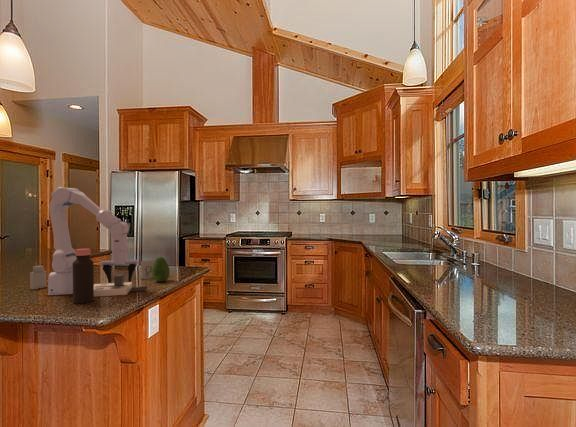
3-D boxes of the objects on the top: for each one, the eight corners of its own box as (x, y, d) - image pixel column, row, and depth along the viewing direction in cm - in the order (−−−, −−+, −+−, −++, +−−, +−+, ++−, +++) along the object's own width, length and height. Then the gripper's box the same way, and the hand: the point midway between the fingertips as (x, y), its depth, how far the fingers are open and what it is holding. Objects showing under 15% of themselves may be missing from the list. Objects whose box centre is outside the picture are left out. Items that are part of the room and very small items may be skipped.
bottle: (74, 300, 126) (74, 248, 126) (95, 298, 129) (94, 247, 129) (71, 305, 120) (70, 250, 120) (92, 302, 123) (91, 249, 122)
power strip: (85, 297, 131) (85, 290, 130) (94, 289, 142) (94, 283, 142) (144, 293, 136) (144, 287, 136) (148, 286, 148) (148, 281, 148)
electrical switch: (141, 279, 162) (141, 260, 163) (140, 278, 167) (140, 260, 168) (161, 278, 166) (161, 259, 167) (160, 277, 171) (160, 259, 172)
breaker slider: (114, 286, 137) (114, 276, 137) (116, 283, 141) (116, 274, 141) (122, 285, 138) (122, 276, 138) (124, 283, 142) (124, 274, 141)
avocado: (157, 279, 162) (157, 255, 162) (172, 280, 161) (172, 256, 161) (148, 283, 154) (148, 258, 154) (164, 284, 153) (164, 258, 153)
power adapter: (47, 286, 147) (46, 260, 147) (34, 289, 142) (34, 262, 142) (42, 286, 148) (41, 259, 148) (29, 289, 143) (29, 261, 143)
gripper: (97, 252, 133) (98, 285, 133) (136, 251, 137) (136, 283, 137) (102, 249, 140) (102, 281, 140) (139, 248, 144) (139, 279, 144)
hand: (119, 282), depth 139 cm, fingers open, 7 cm apart
